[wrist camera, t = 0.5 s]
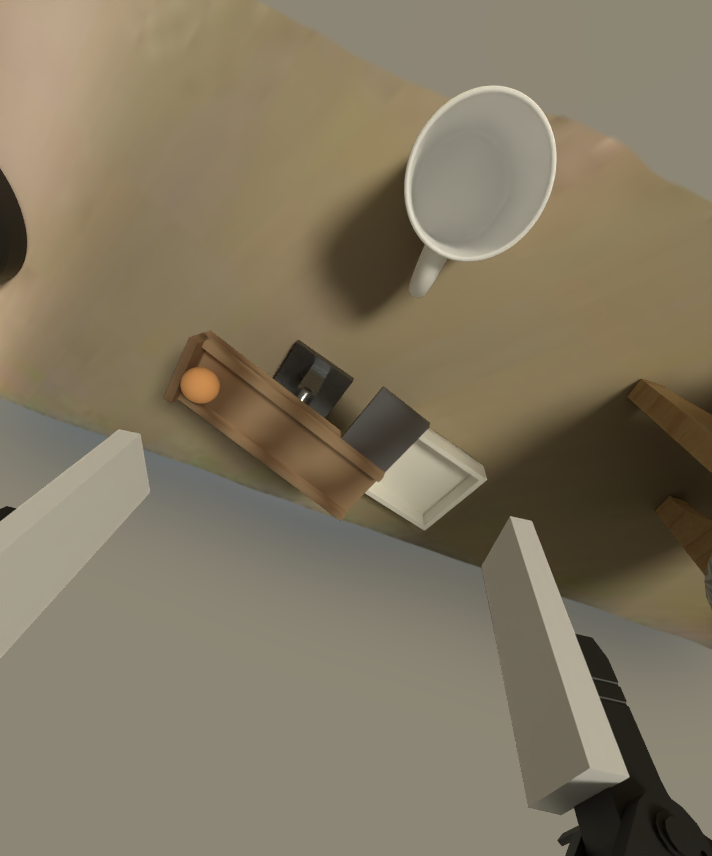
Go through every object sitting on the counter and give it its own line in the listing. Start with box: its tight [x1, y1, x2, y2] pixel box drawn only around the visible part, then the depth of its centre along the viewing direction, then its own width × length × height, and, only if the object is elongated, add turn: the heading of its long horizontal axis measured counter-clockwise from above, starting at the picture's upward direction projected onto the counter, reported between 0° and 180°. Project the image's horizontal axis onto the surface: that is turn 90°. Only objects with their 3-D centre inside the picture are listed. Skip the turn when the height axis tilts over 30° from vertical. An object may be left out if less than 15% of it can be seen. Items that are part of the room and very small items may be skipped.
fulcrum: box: [274, 340, 354, 418], centre depth 38 cm, size 7×10×7 cm
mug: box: [404, 86, 556, 298], centre depth 26 cm, size 12×8×10 cm
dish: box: [365, 428, 487, 531], centre depth 43 cm, size 11×11×3 cm
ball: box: [180, 367, 220, 404], centre depth 32 cm, size 3×3×3 cm
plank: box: [164, 331, 430, 521], centre depth 32 cm, size 20×13×3 cm, turn 56°
